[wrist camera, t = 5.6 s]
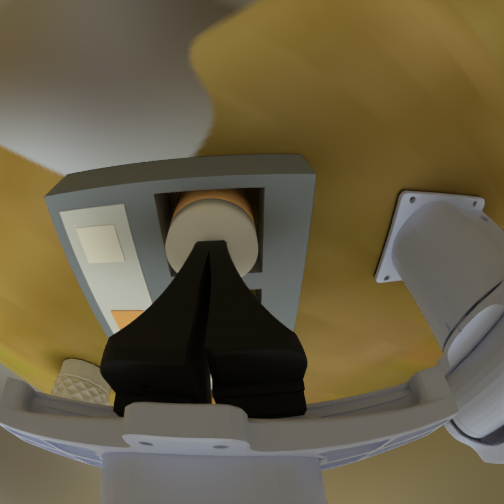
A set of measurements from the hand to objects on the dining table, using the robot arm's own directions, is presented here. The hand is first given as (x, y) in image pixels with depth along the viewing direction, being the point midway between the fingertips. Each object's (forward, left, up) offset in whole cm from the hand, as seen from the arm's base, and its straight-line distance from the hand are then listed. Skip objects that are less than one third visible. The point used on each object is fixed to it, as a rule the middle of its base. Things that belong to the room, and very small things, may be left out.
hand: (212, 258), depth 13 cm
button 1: (0, 0, -5) cm, 5 cm away
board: (+2, +10, -5) cm, 11 cm away
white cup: (+18, +21, -5) cm, 28 cm away
